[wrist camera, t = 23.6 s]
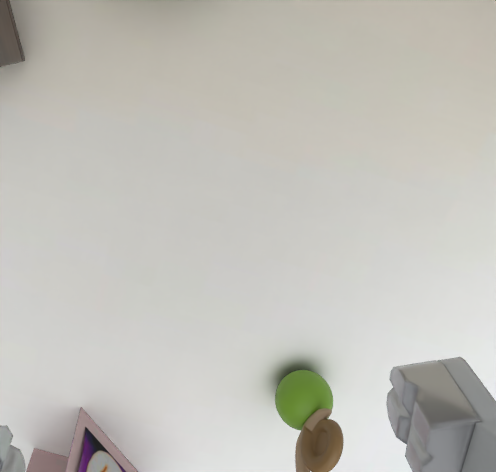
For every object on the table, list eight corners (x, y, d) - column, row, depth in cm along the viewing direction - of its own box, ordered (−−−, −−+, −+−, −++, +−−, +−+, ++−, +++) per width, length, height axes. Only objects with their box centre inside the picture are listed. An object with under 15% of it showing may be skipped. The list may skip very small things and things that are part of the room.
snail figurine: (254, 397, 47) (279, 510, 36) (289, 350, 45) (326, 454, 34) (298, 413, 48) (333, 526, 38) (333, 369, 47) (381, 474, 36)
